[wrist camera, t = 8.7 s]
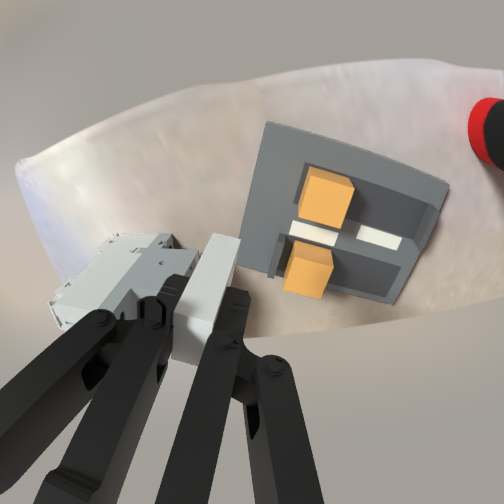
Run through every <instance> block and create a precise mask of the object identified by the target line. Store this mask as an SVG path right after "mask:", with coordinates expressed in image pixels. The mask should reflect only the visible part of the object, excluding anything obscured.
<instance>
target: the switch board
mask: <svg viewBox="0 0 504 504" xmlns="http://www.w3.org/2000/svg"><path fill="white" fill-rule="evenodd" d="M309 166H311V167H314V168H318V169H321V170H324V171H328V172H331V173H334V174H338V175H341V176H344V177H347V178H349V179H350V181H351V183H352V185H353V187H354V188H355V189H354V192H353V195H352V198H351V201H350V203H349V206H348V209H347V212H346V215H345V217H344V220H343V223H342V225H341V228H340V229H339V228H335V227H332V226H328V225H325V224H321V223H318V222H314V221H311V220H307V219H304V218H300V217H298V203H299V200H300V196H301V193H302V190H303V186H304V183H305V180H306V176H307V173H308V169H309ZM449 186H450V185H449V184H448V183H447V182H445V181H443V180H441V179H439V178H437V177H434V176H432V175H430V174H427V173H425V172H423V171H420V170H418V169H415V168H413V167H410V166H408V165H405V164H403V163H400V162H398V161H395V160H392V159H390V158H387V157H384V156H382V155H379V154H376V153H373V152H370V151H367V150H365V149H362V148H359V147H356V146H353V145H350V144H347V143H344V142H340V141H337V140H334V139H331V138H328V137H324V136H321V135H318V134H314V133H311V132H307V131H304V130H300V129H296V128H293V127H289V126H285V125H281V124H277V123H273V122H269V121H267V122H266V124H265V129H264V133H263V137H262V141H261V145H260V149H259V153H258V158H257V162H256V166H255V170H254V174H253V179H252V183H251V187H250V191H249V196H248V200H247V204H246V209H245V213H244V217H243V222H242V226H241V230H240V235H239V239H241V242H240V246H239V251H238V255H237V260H236V265H238V266H242V267H246V268H250V269H254V270H257V271H261V272H265V273H268V276H267V277H269V278H273V279H274V276H275V275H276V276H280V277H284V274H285V269H286V266H287V263H288V260H289V257H290V254H291V251H292V248H293V245H294V242H295V240H296V241H300V242H303V243H307V244H311V245H314V246H318V247H322V248H325V249H329V250H331V254H332V260H333V266H334V268H333V270H332V273H331V275H330V277H329V280H328V282H327V284H326V287H325V288H327V289H331V290H335V291H339V292H343V293H347V294H351V295H355V296H359V297H363V298H367V299H371V300H375V301H379V302H383V303H387V304H392V305H393V303H394V302H395V300H396V298H397V296H398V294H399V293H400V291H401V289H402V287H403V285H404V283H405V282H406V280H407V278H408V276H409V274H410V272H411V270H412V268H413V266H414V264H415V262H416V260H417V258H418V256H419V254H420V252H421V250H422V249H424V247H425V245H426V243H427V241H428V239H429V237H430V234H431V232H432V230H433V228H434V226H435V223H436V221H437V219H438V217H439V214H440V212H439V210H440V208H441V206H442V203H443V201H444V198H445V196H446V193H447V191H448V188H449Z"/></svg>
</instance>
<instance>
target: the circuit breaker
mask: <svg viewBox="0 0 504 504" xmlns="http://www.w3.org/2000/svg"><path fill="white" fill-rule="evenodd" d="M97 253H98V256H97V257H96V258H95V259H94V260H93V261H92V262H91V263H90V264H89V265H88V266H87V267H86V268H85V269H84V270H83V271H82V272H81V273H80V274H79V275H78V276H77V277H76V278H75V279H67V280H66V281H65V282H64V283H63V284H62V285H61V286H60V287H59V288H58V290H57V291H56V292H55V293H54V294H55V296H56V297H55V298H54V299H53V301H52V302H51V301H48V302H47V303H48V306H49V308H50V310H51V312H52V315H53V317H54V319H55V321H56V323H57V326H58V328H59V329H60V330H64V331H65V332H66V331H67V330H68V329H70V328H71V327H72V326H73V325H74V324H75V323H77V322H78V321H79V320H80V319H81V318H83V317H84V316H85V315H86V314H88V313H89V312H91V311H92V310H95V309H106V310H109V311H111V312H112V313H113V314H114V315H115V317H116V319H119V320H134V319H137V301H138V300H139V299H141V298H143V297H145V296H156V295H157V294H158V292H159V290H160V289H161V287H162V286H163V284H164V282H165V280H166V279H167V278H168V277H170V276H171V275H173V274H174V273H175V274H179V275H183V276H186V277H190V278H191V276H192V274H193V272H194V270H195V268H196V266H197V264H198V262H199V252H198V250H186V249H174V245H173V239H172V234H155V233H123V234H122V235H121V236H118V233H114V238H109V239H108V240H107V241H106V242H105V243H104V244H103V245H102V246H101V247H99V248H98V249H97ZM67 285H68V287H66V286H67ZM59 318H60V320H61V321H60V320H59ZM65 332H64V333H65Z"/></svg>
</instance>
